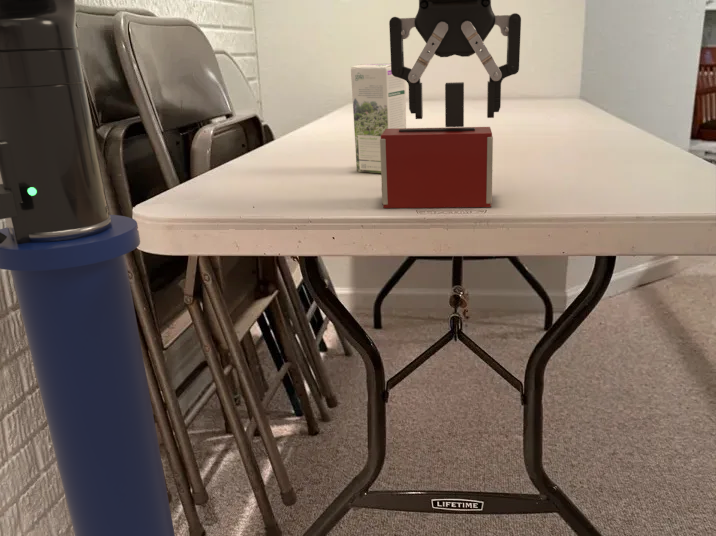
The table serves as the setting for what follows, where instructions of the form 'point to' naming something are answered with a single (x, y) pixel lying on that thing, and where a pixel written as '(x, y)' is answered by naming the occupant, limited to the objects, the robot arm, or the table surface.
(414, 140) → the toaster
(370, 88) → the syrup box
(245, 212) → the table surface
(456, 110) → the block
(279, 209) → the table surface
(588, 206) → the table surface
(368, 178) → the table surface
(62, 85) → the robot arm
